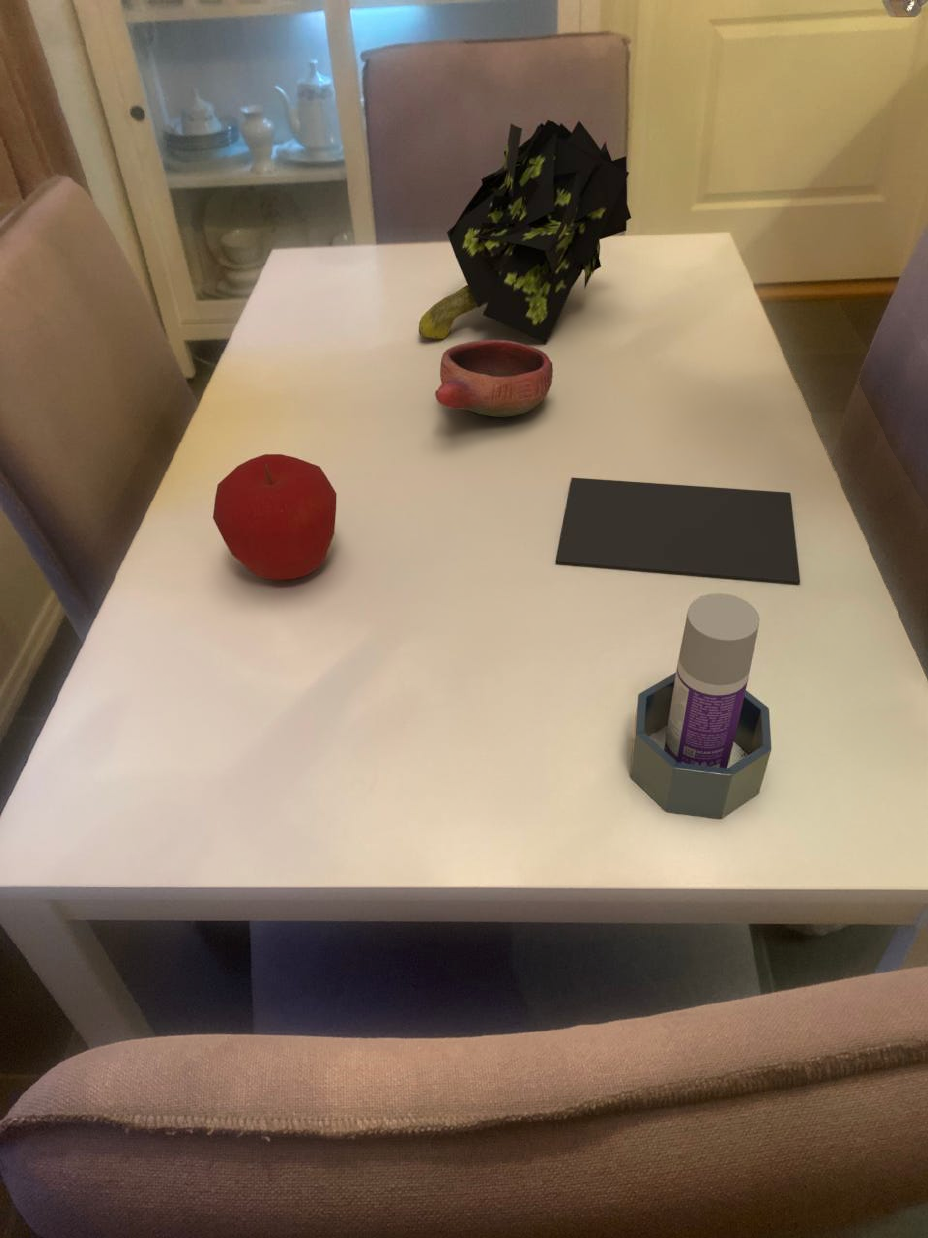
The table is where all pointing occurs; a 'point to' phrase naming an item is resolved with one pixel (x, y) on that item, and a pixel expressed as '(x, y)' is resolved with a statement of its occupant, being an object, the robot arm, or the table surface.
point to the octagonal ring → (692, 783)
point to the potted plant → (534, 230)
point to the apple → (276, 515)
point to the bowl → (494, 377)
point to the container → (711, 679)
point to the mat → (680, 530)
